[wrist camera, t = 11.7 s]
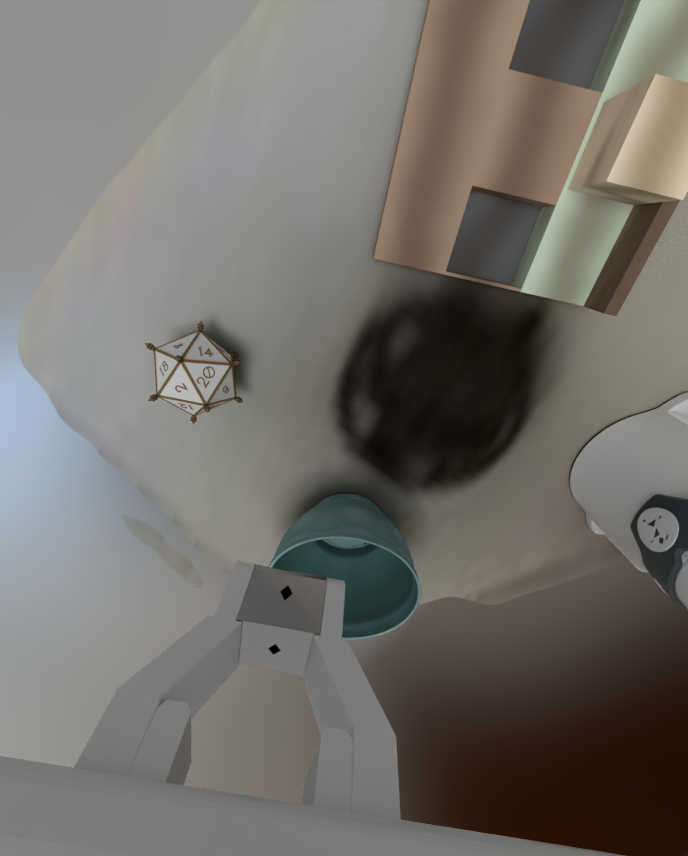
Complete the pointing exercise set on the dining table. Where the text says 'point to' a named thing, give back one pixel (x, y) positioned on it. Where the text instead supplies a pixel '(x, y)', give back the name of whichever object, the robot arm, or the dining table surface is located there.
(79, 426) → the dining table surface
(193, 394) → the game die
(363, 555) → the flower pot
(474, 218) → the box
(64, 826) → the robot arm
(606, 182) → the maple block
